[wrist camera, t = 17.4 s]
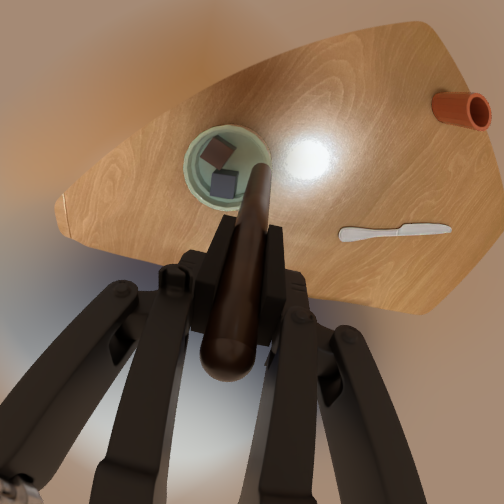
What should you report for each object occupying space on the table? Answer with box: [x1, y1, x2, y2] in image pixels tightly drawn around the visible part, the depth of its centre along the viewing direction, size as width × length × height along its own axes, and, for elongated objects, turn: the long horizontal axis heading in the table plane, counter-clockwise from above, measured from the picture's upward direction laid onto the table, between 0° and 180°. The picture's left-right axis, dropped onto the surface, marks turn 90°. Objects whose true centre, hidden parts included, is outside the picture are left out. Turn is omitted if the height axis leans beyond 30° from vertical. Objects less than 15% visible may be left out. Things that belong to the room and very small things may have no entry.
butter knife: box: [339, 224, 451, 242], centre depth 43 cm, size 1×24×3 cm
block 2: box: [210, 168, 239, 199], centre depth 39 cm, size 4×4×4 cm
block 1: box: [200, 135, 237, 170], centre depth 37 cm, size 4×4×4 cm
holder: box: [432, 92, 492, 131], centre depth 27 cm, size 6×6×10 cm
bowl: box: [183, 124, 272, 211], centre depth 38 cm, size 12×12×5 cm
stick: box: [200, 163, 272, 382], centre depth 17 cm, size 2×2×22 cm
